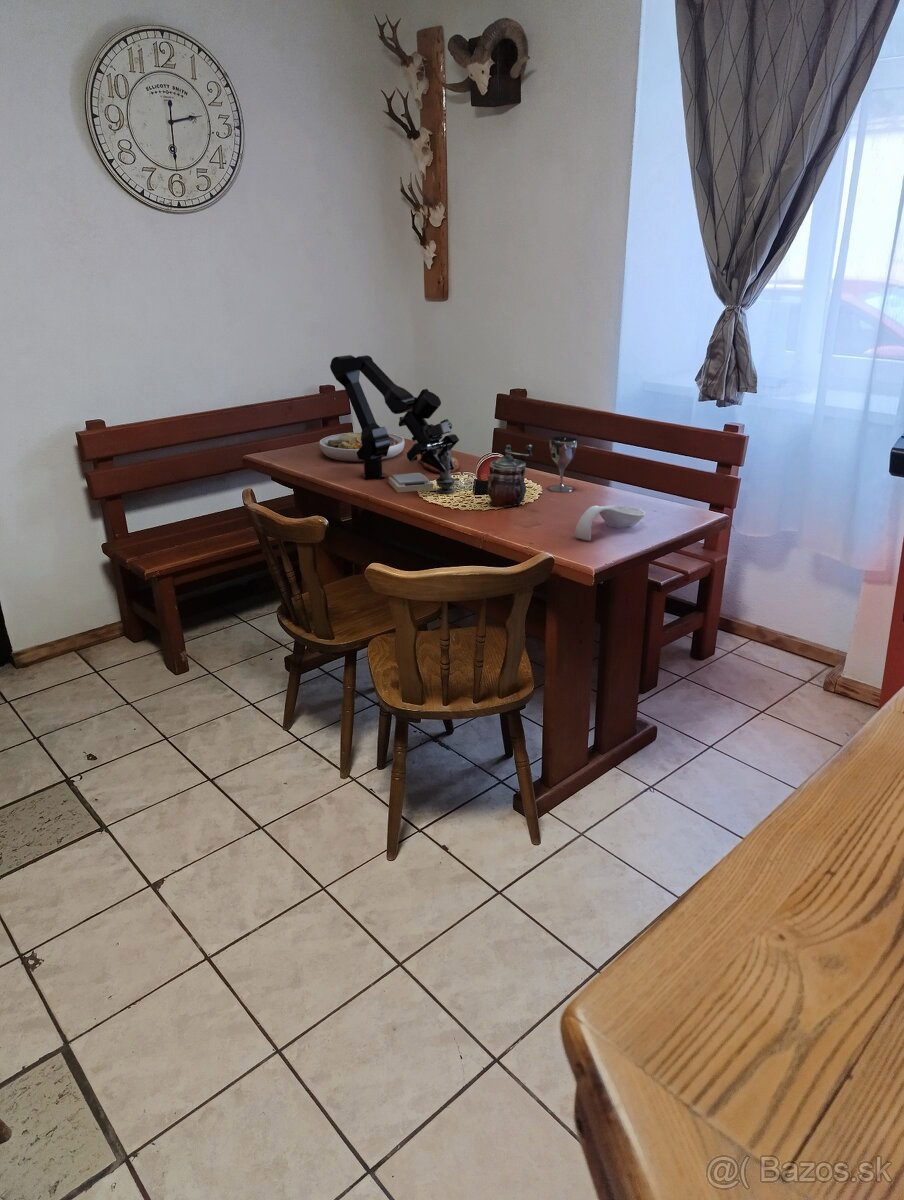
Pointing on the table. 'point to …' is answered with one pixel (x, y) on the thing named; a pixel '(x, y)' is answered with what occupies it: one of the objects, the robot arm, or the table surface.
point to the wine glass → (562, 457)
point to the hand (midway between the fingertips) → (449, 470)
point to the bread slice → (438, 470)
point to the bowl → (355, 446)
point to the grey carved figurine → (445, 477)
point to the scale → (410, 482)
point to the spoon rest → (607, 519)
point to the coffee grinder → (507, 479)
